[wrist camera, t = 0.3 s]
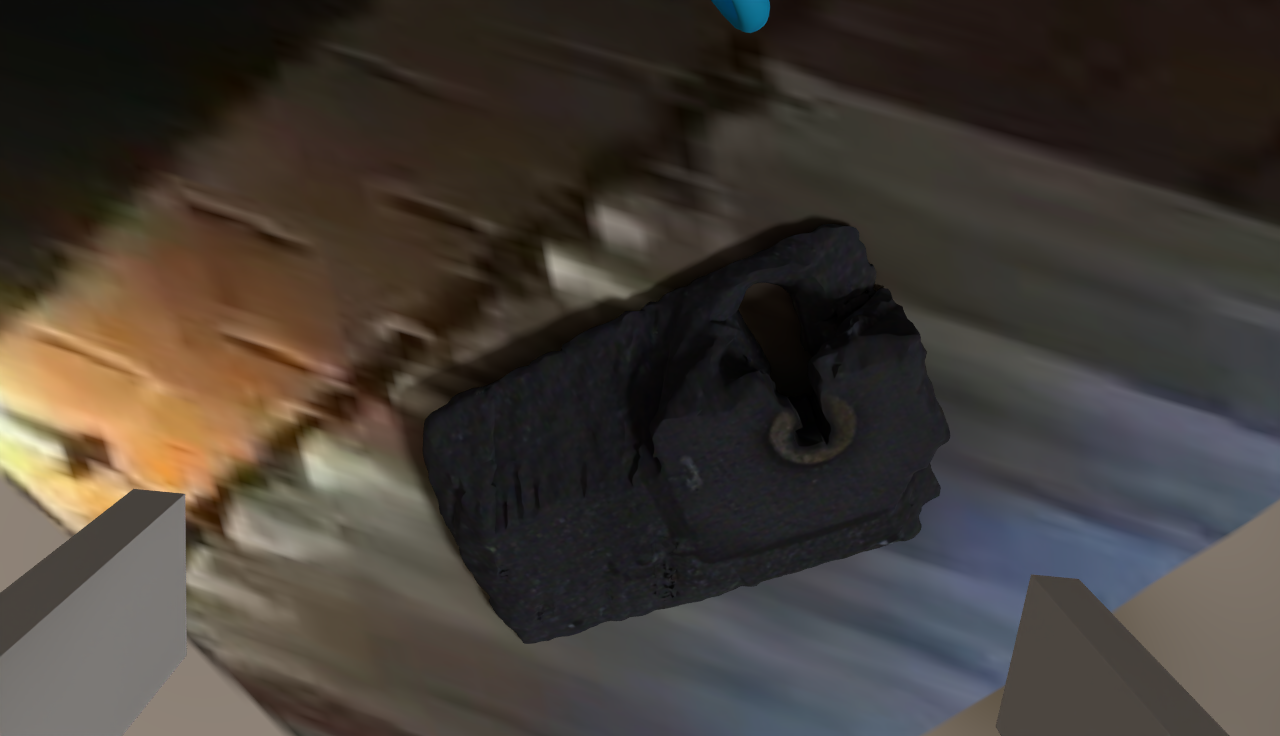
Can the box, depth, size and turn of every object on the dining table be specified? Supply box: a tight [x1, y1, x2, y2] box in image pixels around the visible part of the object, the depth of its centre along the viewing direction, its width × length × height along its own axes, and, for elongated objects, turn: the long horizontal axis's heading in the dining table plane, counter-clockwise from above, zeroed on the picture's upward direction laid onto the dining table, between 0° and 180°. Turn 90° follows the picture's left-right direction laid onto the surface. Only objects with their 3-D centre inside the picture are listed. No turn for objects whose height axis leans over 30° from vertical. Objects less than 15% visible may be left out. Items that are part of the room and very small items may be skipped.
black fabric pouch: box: [423, 224, 950, 644], centre depth 42 cm, size 15×22×5 cm
